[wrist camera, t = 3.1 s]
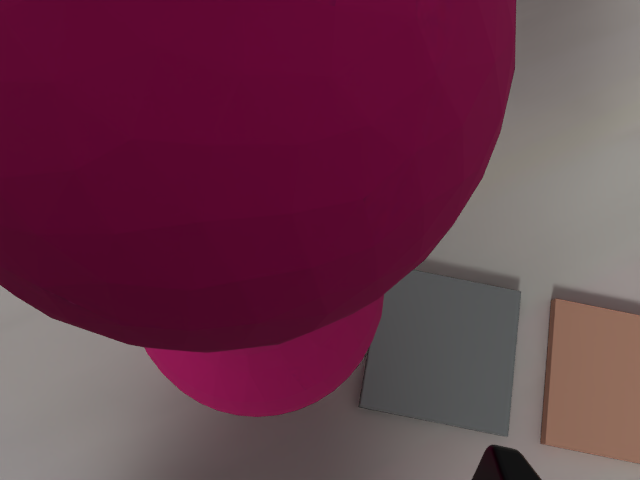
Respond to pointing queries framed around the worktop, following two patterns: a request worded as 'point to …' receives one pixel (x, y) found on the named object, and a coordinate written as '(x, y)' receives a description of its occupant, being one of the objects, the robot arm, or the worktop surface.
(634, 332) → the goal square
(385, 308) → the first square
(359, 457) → the worktop surface
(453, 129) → the pepper mill
